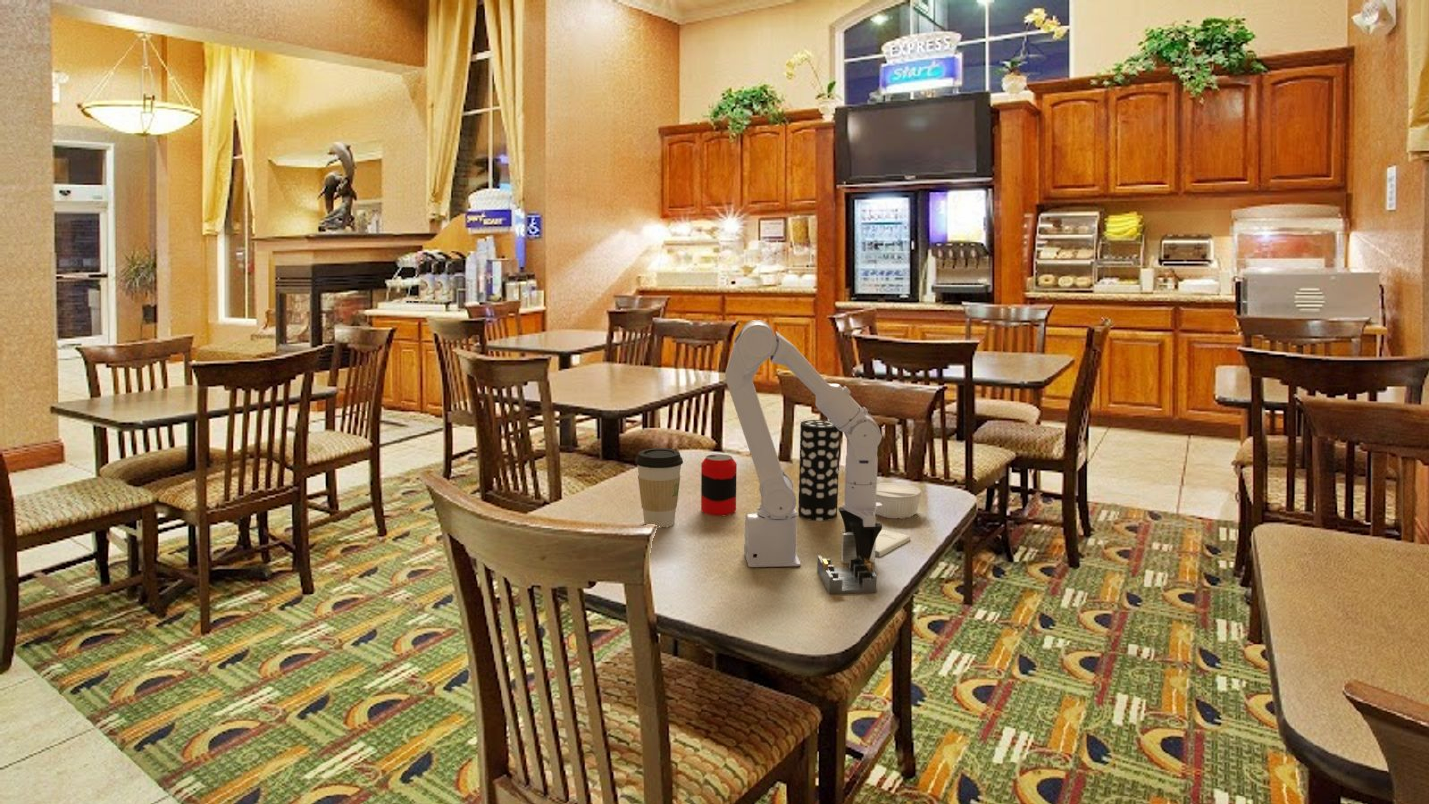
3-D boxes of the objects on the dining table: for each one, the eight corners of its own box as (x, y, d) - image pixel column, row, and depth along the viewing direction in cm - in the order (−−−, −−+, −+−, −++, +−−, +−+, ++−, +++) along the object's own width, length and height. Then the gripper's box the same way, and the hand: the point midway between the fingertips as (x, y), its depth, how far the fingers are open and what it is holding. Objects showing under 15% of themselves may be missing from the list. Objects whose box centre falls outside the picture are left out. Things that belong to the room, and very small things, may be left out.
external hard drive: (841, 550, 176) (873, 534, 185) (879, 559, 171) (910, 542, 180) (841, 542, 175) (873, 526, 185) (879, 551, 170) (910, 534, 180)
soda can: (714, 504, 203) (714, 451, 201) (742, 510, 199) (743, 456, 197) (694, 512, 197) (694, 458, 195) (723, 518, 193) (723, 463, 191)
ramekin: (879, 522, 192) (880, 497, 191) (860, 506, 202) (861, 483, 201) (928, 519, 194) (930, 495, 193) (907, 504, 205) (908, 481, 204)
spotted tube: (839, 521, 192) (842, 428, 188) (799, 520, 192) (802, 427, 188) (834, 509, 200) (837, 420, 196) (796, 509, 200) (798, 419, 196)
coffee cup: (692, 521, 191) (692, 451, 188) (664, 534, 182) (664, 461, 180) (654, 513, 196) (654, 445, 193) (625, 525, 188) (625, 454, 185)
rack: (829, 594, 152) (829, 572, 152) (817, 571, 163) (817, 551, 162) (876, 592, 153) (877, 571, 152) (861, 570, 163) (862, 550, 163)
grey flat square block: (842, 563, 167) (843, 534, 166) (840, 560, 169) (841, 531, 168) (874, 562, 167) (876, 534, 167) (872, 559, 169) (873, 531, 168)
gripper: (893, 491, 158) (890, 566, 161) (872, 470, 173) (870, 539, 175) (853, 492, 158) (851, 567, 160) (835, 471, 172) (833, 540, 175)
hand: (858, 552), depth 168 cm, fingers open, 7 cm apart
